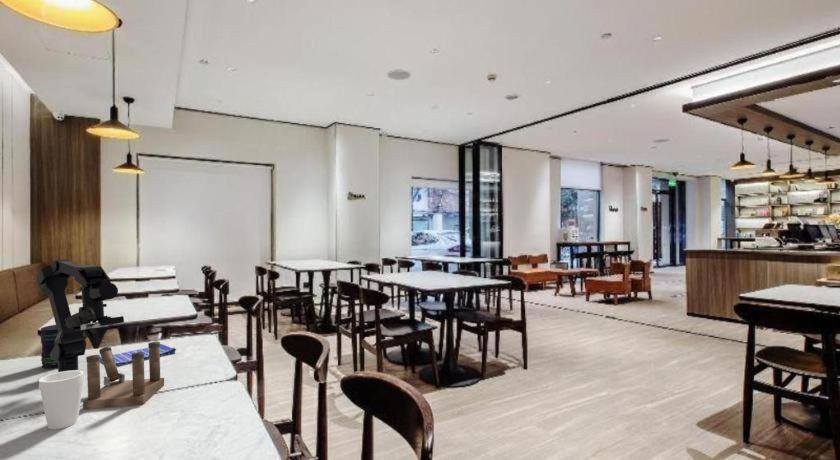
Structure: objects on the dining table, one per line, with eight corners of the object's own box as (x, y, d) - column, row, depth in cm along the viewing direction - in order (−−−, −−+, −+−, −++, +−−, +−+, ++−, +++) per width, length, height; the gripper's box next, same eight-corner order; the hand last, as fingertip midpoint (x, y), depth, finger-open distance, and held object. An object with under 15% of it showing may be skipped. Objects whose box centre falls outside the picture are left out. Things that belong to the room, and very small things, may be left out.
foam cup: (93, 418, 121) (91, 372, 121) (55, 434, 113) (54, 383, 112) (69, 414, 124) (68, 369, 124) (31, 429, 116) (30, 380, 115)
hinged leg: (106, 383, 141) (97, 352, 145) (118, 379, 144) (108, 350, 147) (110, 378, 140) (100, 347, 143) (121, 375, 142) (112, 345, 146)
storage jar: (72, 359, 177) (71, 322, 177) (76, 364, 170) (75, 326, 170) (39, 365, 170) (38, 327, 169) (42, 371, 163) (41, 331, 163)
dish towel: (178, 354, 183) (177, 347, 183) (111, 369, 165) (110, 362, 165) (161, 347, 194) (161, 341, 194) (97, 361, 176) (97, 354, 176)
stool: (80, 409, 127) (78, 359, 127) (109, 388, 144) (108, 343, 144) (143, 404, 131) (142, 354, 130) (165, 384, 147) (164, 340, 147)
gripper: (46, 308, 144) (49, 356, 143) (93, 301, 141) (97, 350, 139) (79, 305, 155) (82, 349, 154) (123, 298, 151) (127, 343, 150)
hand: (96, 348), depth 149 cm, fingers closed
